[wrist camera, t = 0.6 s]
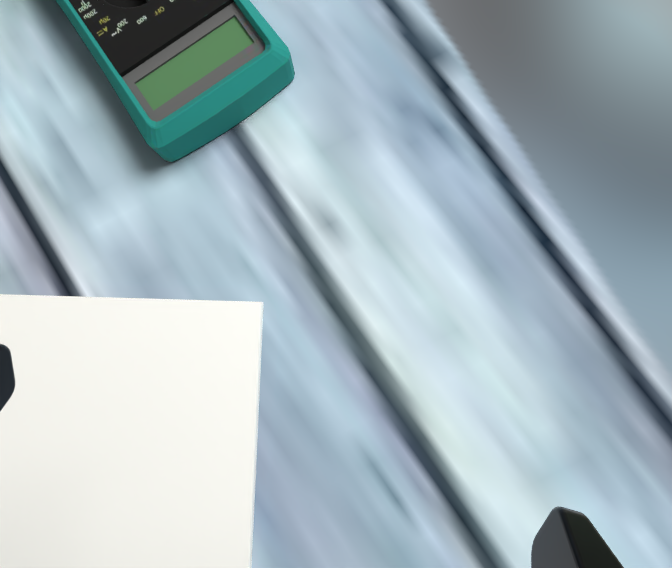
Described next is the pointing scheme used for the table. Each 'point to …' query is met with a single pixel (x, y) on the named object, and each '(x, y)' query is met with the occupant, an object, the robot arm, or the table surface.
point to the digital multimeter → (183, 64)
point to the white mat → (129, 432)
